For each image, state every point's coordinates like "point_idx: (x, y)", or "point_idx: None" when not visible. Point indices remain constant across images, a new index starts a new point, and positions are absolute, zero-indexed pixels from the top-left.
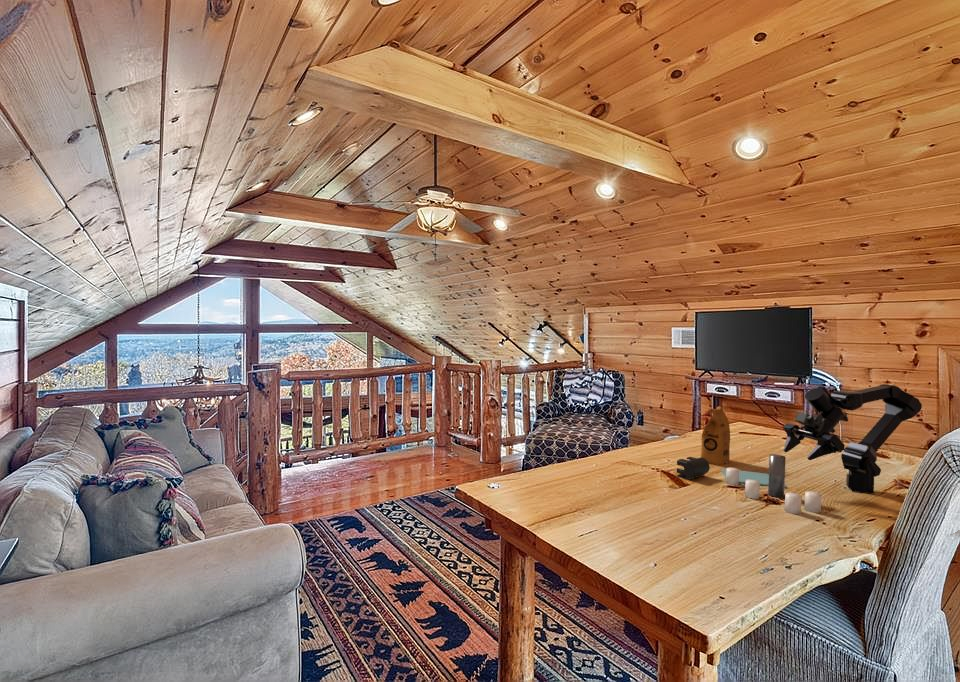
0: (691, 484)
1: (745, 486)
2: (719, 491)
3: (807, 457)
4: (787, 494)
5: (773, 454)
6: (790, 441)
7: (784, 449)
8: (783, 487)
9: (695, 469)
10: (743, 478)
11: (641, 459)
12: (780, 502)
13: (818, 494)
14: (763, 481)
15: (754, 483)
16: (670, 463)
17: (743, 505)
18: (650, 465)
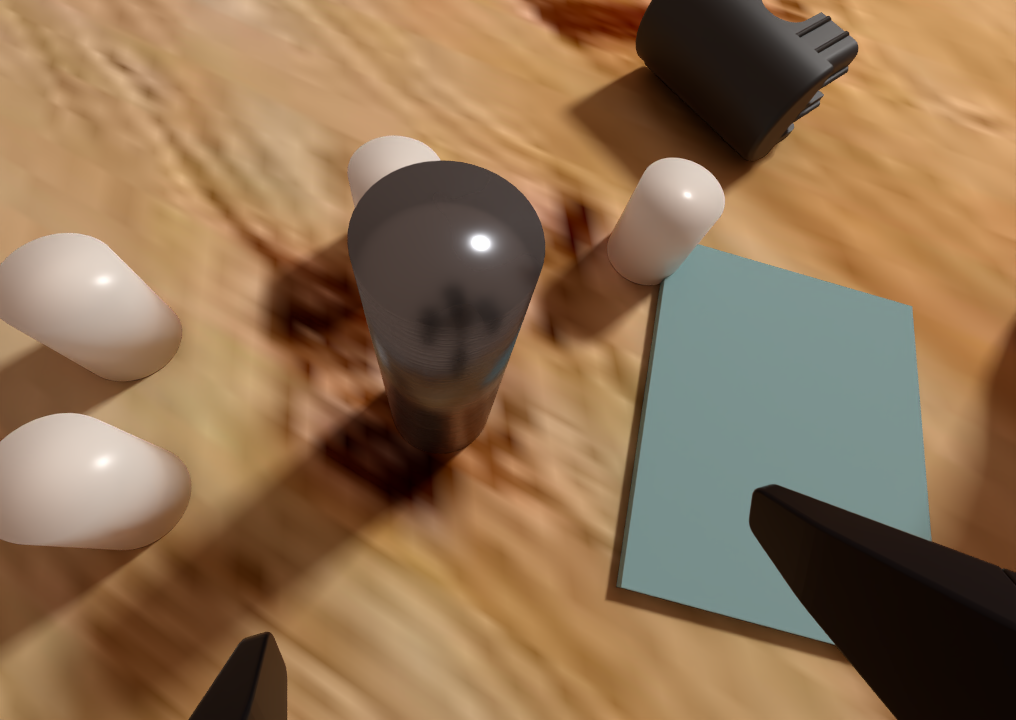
0: (577, 53)
1: None
2: (482, 124)
3: (264, 634)
4: (77, 244)
5: (528, 232)
6: (995, 654)
7: (770, 491)
8: (392, 409)
9: (653, 19)
10: (736, 348)
11: (932, 15)
12: (304, 357)
13: (18, 516)
14: (705, 458)
15: (351, 161)
16: (923, 106)
17: (262, 130)
18: (842, 13)
